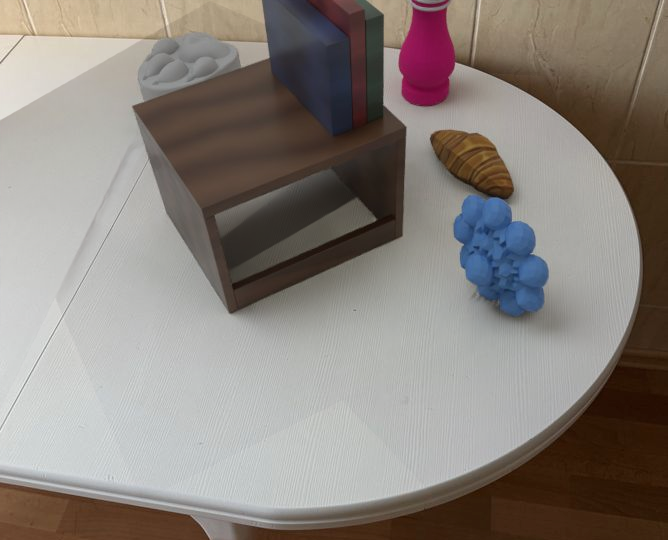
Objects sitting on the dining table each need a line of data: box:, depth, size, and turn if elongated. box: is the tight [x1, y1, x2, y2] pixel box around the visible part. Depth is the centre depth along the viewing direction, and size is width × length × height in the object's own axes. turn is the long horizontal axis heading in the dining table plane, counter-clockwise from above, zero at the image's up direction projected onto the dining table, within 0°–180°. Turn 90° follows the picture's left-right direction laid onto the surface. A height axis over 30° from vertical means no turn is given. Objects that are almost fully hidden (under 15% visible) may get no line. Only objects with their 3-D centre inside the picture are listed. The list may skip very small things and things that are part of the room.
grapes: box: [452, 194, 550, 317], centre depth 66 cm, size 12×7×12 cm, turn 38°
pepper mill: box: [397, 0, 456, 107], centre depth 85 cm, size 7×7×20 cm
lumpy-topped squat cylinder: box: [137, 31, 242, 102], centre depth 90 cm, size 10×13×9 cm
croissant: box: [429, 128, 515, 201], centre depth 81 cm, size 14×7×5 cm, turn 34°
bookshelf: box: [131, 0, 408, 314], centre depth 69 cm, size 18×21×25 cm
